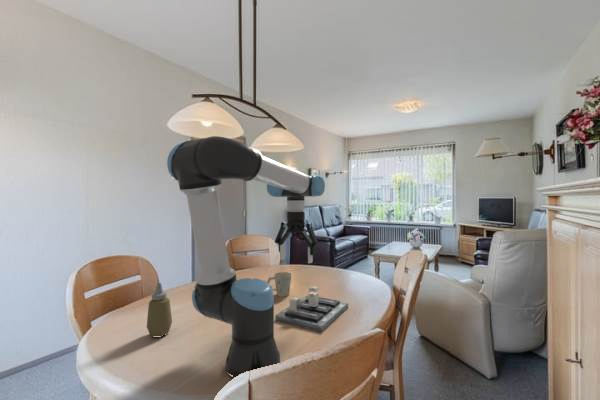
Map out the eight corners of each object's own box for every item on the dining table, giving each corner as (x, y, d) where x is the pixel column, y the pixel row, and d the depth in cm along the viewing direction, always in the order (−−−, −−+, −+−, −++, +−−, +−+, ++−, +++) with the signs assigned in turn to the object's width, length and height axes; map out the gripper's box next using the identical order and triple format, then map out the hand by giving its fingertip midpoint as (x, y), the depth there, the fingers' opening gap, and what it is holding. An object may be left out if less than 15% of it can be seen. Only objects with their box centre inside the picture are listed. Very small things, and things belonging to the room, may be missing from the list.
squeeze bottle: (165, 327, 108) (165, 278, 107) (176, 333, 102) (176, 282, 102) (142, 335, 101) (141, 283, 101) (153, 342, 96) (152, 288, 96)
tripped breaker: (315, 307, 117) (315, 294, 117) (308, 305, 118) (308, 293, 118) (318, 304, 119) (318, 292, 119) (312, 303, 121) (312, 291, 121)
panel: (322, 331, 103) (321, 309, 102) (275, 320, 113) (275, 299, 112) (348, 307, 125) (348, 288, 125) (307, 299, 135) (307, 282, 135)
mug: (289, 298, 138) (289, 276, 138) (263, 296, 140) (263, 275, 140) (293, 292, 146) (293, 272, 146) (269, 291, 148) (269, 271, 148)
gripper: (326, 211, 120) (326, 262, 120) (276, 210, 133) (276, 257, 133) (318, 211, 114) (318, 266, 114) (266, 210, 126) (266, 259, 126)
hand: (296, 261), depth 123 cm, fingers open, 13 cm apart
